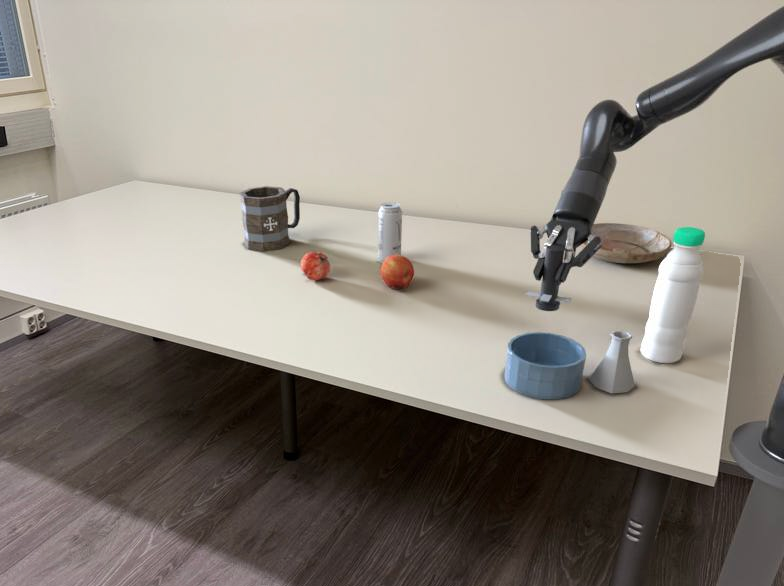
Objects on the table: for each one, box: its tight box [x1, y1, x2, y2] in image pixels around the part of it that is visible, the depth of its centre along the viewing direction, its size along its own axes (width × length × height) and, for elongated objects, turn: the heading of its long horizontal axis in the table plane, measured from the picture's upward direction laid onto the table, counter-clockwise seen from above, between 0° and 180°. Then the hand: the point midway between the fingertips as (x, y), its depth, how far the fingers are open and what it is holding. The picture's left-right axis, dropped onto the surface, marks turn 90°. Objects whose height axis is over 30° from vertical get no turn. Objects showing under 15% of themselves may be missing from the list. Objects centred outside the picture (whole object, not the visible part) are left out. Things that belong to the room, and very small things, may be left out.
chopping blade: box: [525, 245, 573, 312], centre depth 126 cm, size 8×8×12 cm
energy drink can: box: [377, 202, 403, 263], centre depth 175 cm, size 6×6×15 cm
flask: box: [588, 330, 636, 394], centre depth 117 cm, size 7×7×10 cm
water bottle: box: [640, 226, 706, 364], centre depth 122 cm, size 7×7×25 cm
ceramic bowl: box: [577, 222, 672, 264], centre depth 173 cm, size 23×24×5 cm
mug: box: [239, 185, 301, 252], centre depth 194 cm, size 20×14×15 cm
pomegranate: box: [300, 250, 331, 281], centre depth 168 cm, size 7×7×10 cm
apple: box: [379, 254, 415, 290], centre depth 161 cm, size 8×8×8 cm
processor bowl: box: [503, 331, 587, 400], centre depth 120 cm, size 13×13×6 cm
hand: (547, 280), depth 125 cm, fingers closed on chopping blade, 3 cm apart
